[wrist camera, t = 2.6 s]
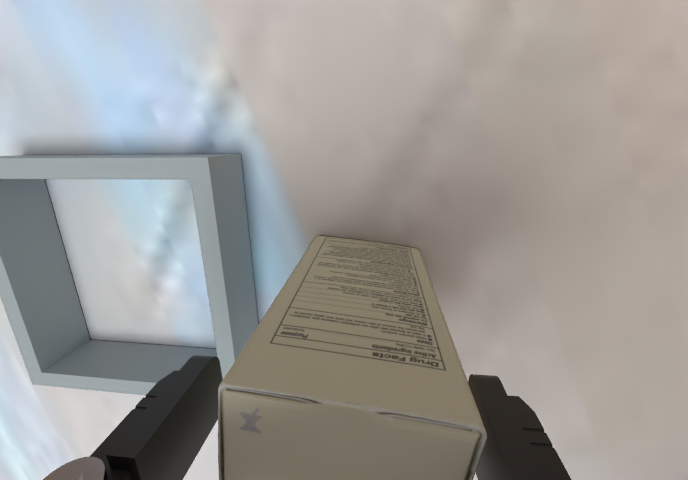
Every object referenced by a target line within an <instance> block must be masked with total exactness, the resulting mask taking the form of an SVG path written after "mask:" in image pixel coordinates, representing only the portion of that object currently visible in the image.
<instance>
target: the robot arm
mask: <svg viewBox="0 0 688 480" xmlns="http://www.w3.org/2000/svg"><path fill="white" fill-rule="evenodd" d="M222 380H223V379H222V372H221V366H220V361H219V359H218V357H216V356H201V355H194V356H192V357H191V358H190V359H189V360H188V361H187V362H186V363H185V364H184V365H183V367H182V368H181V369H180V370H179V371H176V370H175V371H173V372H172V373H170V374H169V375H167V376H166V377H164V378H163V379H161V380H160V381H158V382H157V383H156V384H155V386H154V387H153V388H152V389H151V390H150V391H149V392H148V393H147V394H146V397H145V398H143V399H142V400H141V401H140V402H139V403H138V404H137V405H136V408H135V409H133V410H132V411H131V412H130V413H129V414H128V415H127V416H126V417H125V418H124V420H123V421H122V422H121V423H120V424H119V425H118V426H117V427H116V428H115V429H114V431H113V432H112V433H111V434H110V435H109V436H108V437H107V438H106V439H105V440H104V442H103V443H102V444H101V445H100V446H99V447H98V448H97V449H96V450H95V451H94V452H93V454H92V455H91V456H90V457H83V458H79V459H76V460H73V461H71V462H69V463H66V464H64V465H63V466H61V467H59V468H58V469H56V470H54V471H53V472H52V473H50V474H49V475H48V476H47V477H45V478H44V479H43V480H183V478H184V476H185V474H186V473H187V471H188V469H189V468H190V466H191V464H192V462H193V461H194V459H195V457H196V456H197V454H198V452H199V450H200V449H201V447H202V445H203V444H204V442H205V440H206V438H207V437H208V435H209V433H210V432H211V430H212V428H213V426H214V425H215V423H216V421H217V420H218V406H219V404H218V388H219V385H220V384H221V382H222ZM468 384H469V387H470V390H471V392H472V395H473V398H474V400H475V403H476V406H477V408H478V411H479V414H480V417H481V419H482V422H483V425H484V428H485V430H486V433H487V439H486V442H485V445H484V448H483V451H482V454H481V457H480V460H479V463H478V466H477V469H476V474H477V478H478V480H571V478H570V476H569V475H568V473H567V471H566V469H565V467H564V465H563V463H562V462H561V460H560V458H559V456H558V454H557V452H556V451H555V449H554V448H553V447H552V443H551V441H550V440H549V438H548V436H547V434H546V433H544V429H543V427H542V425H541V423H540V421H539V419H538V418H537V416H536V414H535V412H534V411H533V410H532V409H531V408H530V407H529V406H528V405H527V404H526V403H525V402H524V401H523V400H522V399H521V398H520V397H519V396H507V394H506V391H505V389H504V387H503V385H502V383H501V381H500V379H499V378H498V377H497V376H488V375H473V374H471V375H470V377H469V382H468Z"/></svg>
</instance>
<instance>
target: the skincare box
mask: <svg viewBox="0 0 688 480" xmlns="http://www.w3.org/2000/svg"><path fill="white" fill-rule="evenodd" d="M218 404H219V406H218V463H219V480H473V477H474V475H475V472H476V469H477V466H478V463H479V460H480V457H481V454H482V451H483V448H484V445H485V442H486V439H487V433H486V430H485V428H484V425H483V422H482V419H481V417H480V414H479V411H478V408H477V406H476V403H475V400H474V398H473V395H472V392H471V390H470V387H469V384H468V381H467V379H466V376H465V373H464V371H463V368H462V365H461V362H460V360H459V357H458V354H457V351H456V349H455V346H454V343H453V341H452V338H451V335H450V332H449V330H448V327H447V324H446V322H445V319H444V316H443V313H442V310H441V308H440V305H439V302H438V299H437V297H436V294H435V292H434V289H433V286H432V283H431V280H430V278H429V275H428V272H427V269H426V267H425V264H424V261H423V258H422V256H421V253H420V251H419V250H418V249H416V248H410V247H405V246H398V245H392V244H385V243H378V242H370V241H363V240H355V239H346V238H337V237H326V236H316V237H315V238H314V240H313V242H312V243H311V245H310V246H309V248H308V249H307V251H306V252H305V254H304V255H303V257H302V258H301V260H300V262H299V263H298V265H297V266H296V268H295V269H294V271H293V272H292V274H291V275H290V277H289V279H288V280H287V282H286V283H285V285H284V286H283V288H282V289H281V291H280V292H279V294H278V296H277V297H276V299H275V300H274V302H273V304H272V305H271V307H270V308H269V310H268V311H267V313H266V314H265V316H264V317H263V319H262V320H261V322H260V323H259V325H258V327H257V328H256V330H255V331H254V333H253V334H252V336H251V337H250V339H249V340H248V342H247V344H246V345H245V347H244V348H243V350H242V351H241V353H240V354H239V356H238V358H237V359H236V361H235V362H234V364H233V365H232V367H231V368H230V370H229V371H228V373H227V374H226V376H225V377H224V379H223V380H222V382H221V384H220V385H219V388H218Z"/></svg>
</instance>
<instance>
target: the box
mask: <svg viewBox="0 0 688 480" xmlns="http://www.w3.org/2000/svg"><path fill="white" fill-rule="evenodd" d="M44 179H191V186H192V192H193V199H194V205H195V212H196V218H197V225H198V232H199V238H200V245H201V251H202V258H203V264H204V271H205V278H206V284H207V291H208V297H209V304H210V310H211V317H212V323H213V330H214V337H215V343H216V349H210V348H196V347H183V346H169V345H156V344H142V343H129V342H115V341H102V340H90V337H89V334H88V330H87V327H86V323H85V320H84V316H83V313H82V309H81V306H80V302H79V299H78V295H77V292H76V288H75V285H74V281H73V278H72V274H71V271H70V267H69V264H68V260H67V257H66V253H65V250H64V246H63V243H62V239H61V236H60V232H59V229H58V225H57V222H56V218H55V215H54V211H53V208H52V204H51V201H50V197H49V194H48V190H47V187H46V183H45V180H44ZM0 297H1V300H2V303H3V305H4V308H5V311H6V314H7V316H8V319H9V322H10V325H11V327H12V330H13V333H14V335H15V338H16V341H17V344H18V346H19V349H20V352H21V355H22V357H23V360H24V363H25V366H26V368H27V371H28V374H29V377H30V379H31V382H32V384H34V385H44V386H54V387H65V388H75V389H86V390H96V391H106V392H117V393H127V394H138V395H146V394H147V393H148V392H149V391H150V390H151V389H152V388H153V387H154V386H155V384H156V383H157V382H158V381H160V380H161V379H163V378H164V377H166V376H167V375H169V374H170V373H172V372H173V371H175V370H176V371H179V370H180V369H181V368H182V367H183V365H184V364H185V363H186V362H187V361H188V360H189V359H190V358H191V357H192V356H194V355H201V356H216V357H218V359H219V361H220V366H221V372H222V379H224V377H225V376H226V374H227V373H228V371H229V370H230V368H231V367H232V365H233V364H234V362H235V361H236V359H237V358H238V356H239V354H240V353H241V351H242V350H243V348H244V347H245V345H246V344H247V342H248V340H249V339H250V337H251V336H252V334H253V333H254V331H255V330H256V328H257V327H258V325H259V324H258V314H257V304H256V295H255V285H254V276H253V266H252V256H251V247H250V237H249V227H248V218H247V208H246V199H245V189H244V179H243V170H242V160H241V154H143V155H20V156H0Z"/></svg>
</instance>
